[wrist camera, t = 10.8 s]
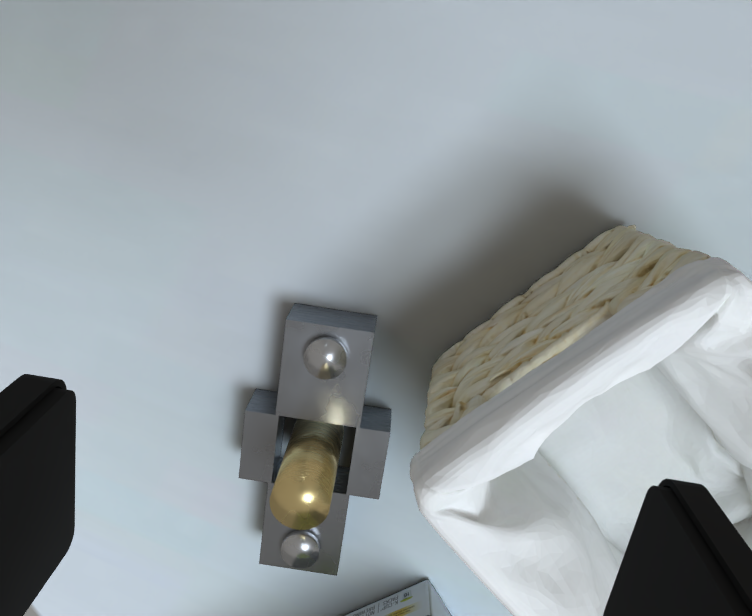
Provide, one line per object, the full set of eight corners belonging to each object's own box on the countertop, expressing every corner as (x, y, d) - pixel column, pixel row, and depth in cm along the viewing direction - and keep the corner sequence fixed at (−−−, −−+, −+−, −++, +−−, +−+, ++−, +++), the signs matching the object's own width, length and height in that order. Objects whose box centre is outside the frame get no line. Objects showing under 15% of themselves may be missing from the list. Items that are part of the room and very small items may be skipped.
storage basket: (836, 483, 42) (1047, 676, 28) (619, 610, 46) (711, 836, 32) (622, 191, 37) (749, 250, 23) (398, 360, 41) (393, 498, 27)
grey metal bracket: (265, 298, 40) (251, 318, 37) (406, 320, 40) (406, 341, 37) (242, 529, 45) (228, 565, 42) (367, 549, 45) (364, 586, 42)
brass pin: (297, 404, 42) (272, 473, 35) (347, 412, 42) (333, 482, 35) (291, 449, 43) (266, 524, 36) (340, 456, 43) (326, 534, 36)
